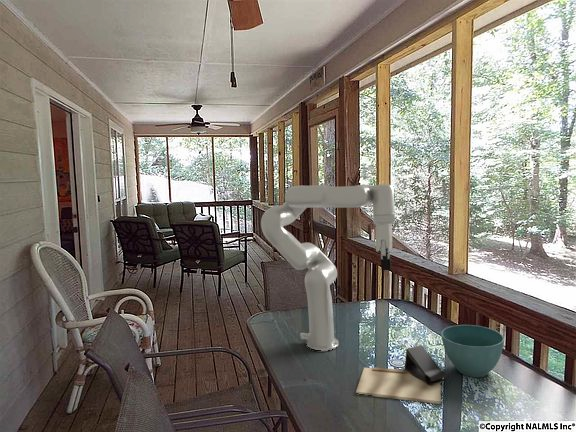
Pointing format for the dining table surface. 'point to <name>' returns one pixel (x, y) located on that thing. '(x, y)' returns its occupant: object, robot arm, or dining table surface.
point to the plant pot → (473, 348)
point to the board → (397, 385)
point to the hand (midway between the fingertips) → (386, 269)
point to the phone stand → (423, 366)
